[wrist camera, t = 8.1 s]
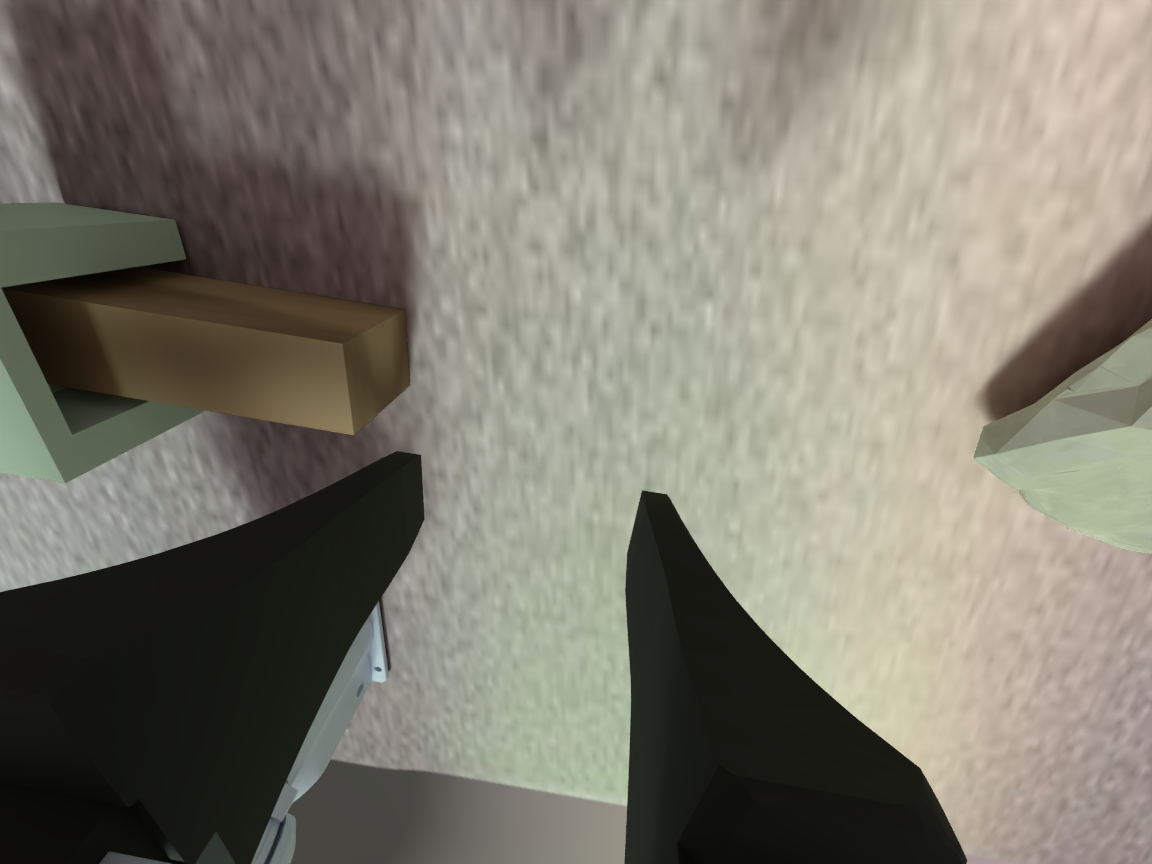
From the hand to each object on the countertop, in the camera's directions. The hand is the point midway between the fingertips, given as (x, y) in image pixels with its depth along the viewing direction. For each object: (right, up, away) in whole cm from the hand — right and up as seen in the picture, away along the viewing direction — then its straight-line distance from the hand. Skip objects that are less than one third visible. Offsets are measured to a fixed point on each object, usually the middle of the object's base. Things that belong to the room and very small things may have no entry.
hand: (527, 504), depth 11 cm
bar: (-12, +7, +9) cm, 16 cm away
